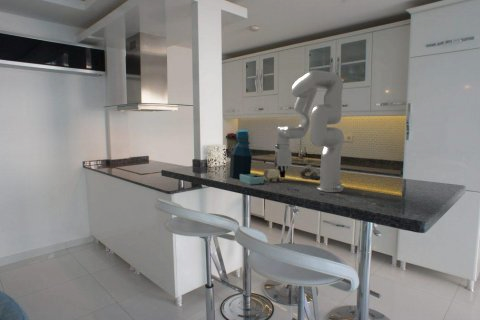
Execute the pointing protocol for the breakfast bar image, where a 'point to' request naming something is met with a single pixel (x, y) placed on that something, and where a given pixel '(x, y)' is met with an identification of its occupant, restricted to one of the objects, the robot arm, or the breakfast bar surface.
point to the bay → (251, 179)
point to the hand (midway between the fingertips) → (282, 177)
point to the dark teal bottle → (241, 156)
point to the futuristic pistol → (314, 173)
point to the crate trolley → (271, 175)
